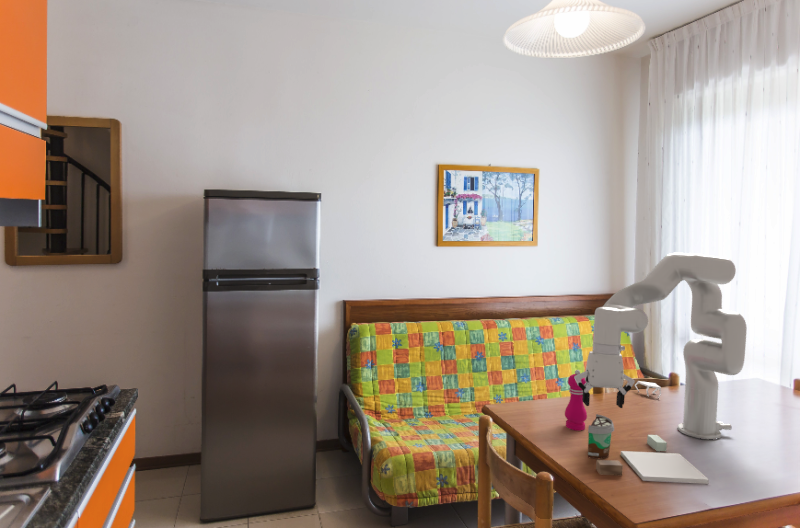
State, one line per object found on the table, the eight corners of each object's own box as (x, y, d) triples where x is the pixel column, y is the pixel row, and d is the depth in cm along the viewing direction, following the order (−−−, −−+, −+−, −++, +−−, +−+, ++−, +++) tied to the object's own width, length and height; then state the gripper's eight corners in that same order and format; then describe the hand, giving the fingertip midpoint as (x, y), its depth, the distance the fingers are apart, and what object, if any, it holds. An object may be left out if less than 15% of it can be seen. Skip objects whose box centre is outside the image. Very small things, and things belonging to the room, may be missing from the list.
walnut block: (618, 471, 140) (618, 460, 140) (622, 476, 137) (622, 465, 137) (596, 470, 141) (596, 459, 141) (599, 475, 138) (600, 464, 138)
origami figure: (666, 396, 210) (667, 384, 209) (660, 400, 204) (660, 388, 203) (636, 389, 218) (637, 378, 218) (629, 393, 212) (630, 382, 212)
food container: (609, 464, 144) (610, 430, 144) (586, 459, 147) (588, 425, 147) (616, 449, 155) (617, 417, 154) (595, 444, 158) (596, 413, 157)
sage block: (647, 443, 160) (647, 434, 160) (656, 444, 160) (657, 434, 160) (656, 451, 154) (656, 442, 154) (666, 452, 154) (666, 442, 154)
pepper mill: (588, 432, 168) (590, 373, 167) (565, 430, 169) (567, 371, 168) (584, 424, 175) (587, 368, 174) (563, 422, 176) (565, 366, 175)
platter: (679, 457, 150) (679, 453, 149) (708, 483, 134) (708, 479, 134) (620, 454, 151) (620, 450, 151) (643, 480, 135) (643, 476, 135)
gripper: (631, 347, 152) (627, 403, 153) (573, 344, 153) (569, 400, 154) (641, 353, 145) (637, 411, 146) (580, 350, 146) (576, 408, 147)
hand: (602, 405), depth 150 cm, fingers open, 9 cm apart
